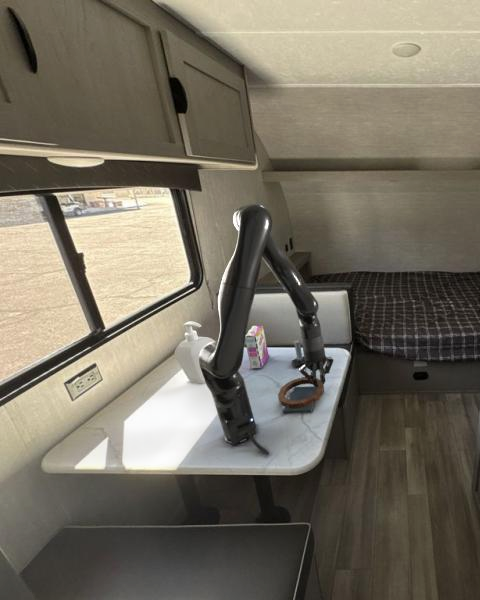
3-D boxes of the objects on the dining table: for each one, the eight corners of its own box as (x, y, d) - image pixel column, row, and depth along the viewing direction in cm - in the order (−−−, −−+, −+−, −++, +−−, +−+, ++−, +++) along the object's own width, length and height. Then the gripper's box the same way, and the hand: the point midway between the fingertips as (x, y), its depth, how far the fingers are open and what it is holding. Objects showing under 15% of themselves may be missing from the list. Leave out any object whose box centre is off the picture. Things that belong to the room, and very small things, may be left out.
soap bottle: (204, 386, 127) (186, 330, 118) (184, 384, 129) (165, 328, 120) (226, 369, 138) (211, 317, 129) (207, 367, 140) (191, 315, 131)
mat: (311, 412, 111) (310, 410, 111) (283, 413, 111) (282, 411, 111) (320, 387, 124) (320, 386, 124) (295, 388, 124) (295, 386, 124)
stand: (309, 363, 141) (305, 342, 136) (296, 368, 138) (291, 346, 133) (305, 358, 145) (301, 337, 141) (292, 362, 142) (288, 340, 138)
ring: (330, 396, 114) (329, 392, 114) (286, 414, 106) (285, 410, 106) (315, 376, 127) (314, 372, 126) (275, 391, 119) (273, 386, 118)
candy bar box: (262, 368, 138) (255, 335, 132) (251, 369, 138) (243, 336, 132) (269, 355, 149) (263, 324, 143) (258, 356, 148) (251, 325, 142)
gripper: (297, 356, 107) (305, 396, 113) (334, 343, 114) (340, 383, 120) (291, 347, 113) (298, 386, 119) (327, 336, 120) (332, 373, 126)
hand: (319, 384), depth 120 cm, fingers closed on ring, 2 cm apart
